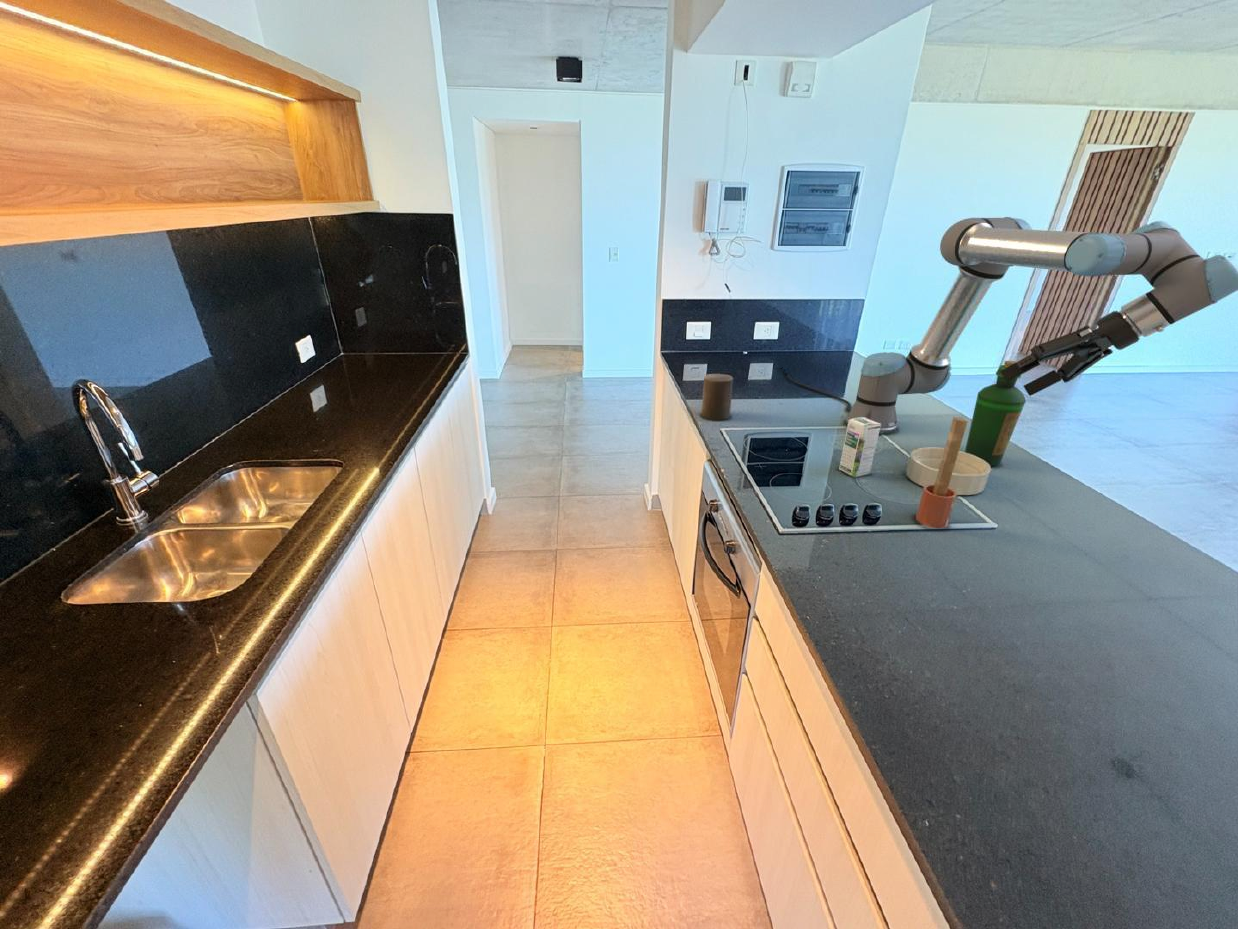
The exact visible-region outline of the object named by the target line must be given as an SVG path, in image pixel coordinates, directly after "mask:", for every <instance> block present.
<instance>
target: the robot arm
mask: <svg viewBox="0 0 1238 929" xmlns="http://www.w3.org/2000/svg"><path fill="white" fill-rule="evenodd" d="M939 252H940V255H941V257H942V259H943V260H944V261H946V262H947V263H948V264H950V265H952V266H957V268H958V270H959V273H958V275H957V276H956V278H955V279H954V282H953V283H952V286H951V287H950V289H949V291H948V293H947V295H946V296H945V298H944V300H943V301H942V303H941V305H940V307H939V309H938V310H937V312H936V314H935V316H934V318H933V319H932V322H931V323H930V325H929V327H928V328H927V330H926V332H925V334H924V336H923V337H922V339H921V341H920V343H919V344H915V345H913V346H912V347H911V348H910V350H909V353H908V354H907V356H905V355H904V354H902V353H899V352H894V351H893V352H891V351H890V352H885V351H884V352H876V353H872V354H869V355H868V356H866V358H865V359H864V360H863V364H862V367H861V369H860V377H859V383H858V388H857V393H856V398H855V402H854V403H853V405H852V407H851V403H850V402H849V401H848V400H846V399H845V398H842V397H839V396H837V395H834V394H832V393H829V392H826V391H823V390H820V389H817V388H814V387H811V386H809V385H805V384H803V383H801V382H799V381H796V380H795V379H794V378H791V377H790V376H789V375H788V376H789V377H788V376H786V378H787V379H788V380H789V381H791V382H792V383H794V384H796V385H798V386H800V387H803V388H806V389H809V390H811V391H814V392H817V393H819V394H822V395H825V396H828V397H832V398H833V399H836V400H839V401H841V402H843V403H845V404H847V407H846V411H847V412H849V413H848V414H847V416H846V418H845V425H846V426H847V427H848V422H849V420H850V419H853V418H859V417H865V418H867V419H869V420H872V421H874V422H877V423H880V424H881V427H880V431H879V435H888V434H893V433H895V432H896V431H897V428H898V418H897V410H896V406H897V405H896V404H897V401H898V396H900V395H917V394H922V395H923V394H930V393H934V392H938V391H940V390H941V389H943V388H944V387H945V386H946V385H947V384H948V382H949V381H950V379H951V376H952V372H951V370H952V364H951V361H952V359H951V357H950V353H951V352H952V350H953V349H954V348H955V345H956V344H957V342H958V340H959V339H960V337H961V335H962V333H963V332H964V330H965V328H966V327H967V326H968V324H969V322H970V320H971V319H972V317H973V316H974V314H975V312H976V311H977V309H978V307H979V306H980V304H981V302H982V301H983V299H984V298H985V296H986V295H987V293H988V291H989V289H990V287H991V286H992V285H993V283H994V282H997V281H1000V280H1002V279H1003V278H1004V276H1005V275H1006V274H1007V272H1008V270H1009V268H1010V267H1023V268H1031V269H1039V270H1040V269H1042V270H1049V271H1059V272H1067V273H1071V274H1074V275H1076V276H1082V277H1101V276H1133V275H1134V276H1135V275H1137V276H1138V275H1140V276H1142V277H1143V278H1144V279H1145V280H1146V282H1148V284H1149V285H1150V286H1151V287H1152V288H1153V289H1151V290H1150V291H1147V292H1146V293H1144V294H1143V295H1140V296H1138V297H1137V298H1134V299H1132V300H1131V301H1129V302H1127V303H1125V304H1123V305H1122V306H1120V310H1119V311H1118V310H1113V311H1111V312H1110V313H1108V314H1106V315H1103V316H1102V317H1100V318H1098V319H1097V320H1096V321H1095V324H1096V325H1097V327H1096V328H1095V329H1092V328H1091V326H1090V325H1085V326H1083V327H1081V328H1078V329H1077V330H1075V331H1072V332H1069V333H1067V334H1064V335H1061V336H1058V337H1056V338H1053V339H1051V340H1048V341H1045V342H1042V343H1040V344H1037V345H1034V346H1033V347H1031V348H1030V349H1029V351H1030V352H1031V353H1030V354H1029V355H1027V356H1025V357H1024V358H1022V359H1020V360H1018V361H1016V363H1014V364H1013V365H1011V366H1009V367H1007V368H1005V369H1003V370H1002V371H1000V372H1001V374H1002V375H1003V377H1004V379H1005V380H1006V381H1007V382H1008V381H1010V380H1012V379H1014V378H1016V377H1018V376H1020V375H1021V376H1022V375H1023V374H1025V373H1027V372H1029V371H1031V370H1033V369H1035V368H1037V367H1038V366H1040V365H1041V363H1042V362H1045V361H1049V360H1053V359H1057V358H1061V357H1064V356H1068V355H1072V356H1071V357H1069V359H1068V360H1067V361H1066V362H1064V364H1062V366H1061V367H1059V368H1058V369H1057V370H1055V369H1053V370H1051V371H1049V372H1047V373H1045V374H1043V375H1041V376H1039V377H1038V378H1035V379H1034V380H1031V381H1030V382H1028V383H1026V384H1024V385H1023V386H1022V387H1023V388H1024V390H1025V392H1026V393H1027V395H1028V396H1030V397H1031V396H1033V395H1035V394H1038V393H1039V392H1041V391H1043V390H1045V389H1047V388H1049V387H1051V386H1053V385H1055V384H1057V383H1059V382H1061V381H1063V383H1066V384H1067V383H1068V382H1070V381H1072V380H1074V379H1075V378H1077V377H1078V376H1079V375H1081V374H1082V373H1083V372H1085V371H1086V370H1087V371H1088V369H1089V368H1091V367H1092V366H1094V365H1095V364H1097V363H1098V362H1099V361H1101V360H1102V359H1104V358H1106V357H1107V356H1110V355H1112V354H1113V353H1114V351H1113V349H1112V348H1111V347H1112V346H1113V347H1114V348H1115V349H1116V350H1117V351H1121V350H1124V349H1126V348H1128V347H1129V346H1132V345H1134V344H1136V343H1138V342H1139V340H1140V338H1141V337H1142V336H1143V338H1147V337H1149V336H1151V335H1153V334H1155V333H1162V332H1164V330H1165V328H1166V327H1169V326H1171V325H1173V324H1175V323H1176V322H1178V321H1181V320H1184V318H1187V317H1189V316H1190V315H1193V314H1195V313H1197V312H1199V311H1201V310H1203V309H1205V308H1208V307H1210V306H1212V305H1214V304H1217V303H1218V302H1219V301H1221V300H1223V299H1225V298H1226V297H1228V296H1230V295H1232V294H1234V293H1236V292H1238V268H1237V266H1235V265H1234V264H1233V263H1232V261H1230V260H1229V259H1228V258H1226V256H1224V255H1222V254H1216V255H1213V256H1210V257H1208V258H1207V259H1205V258H1204V257H1202V256H1201V255H1199V253H1198V252H1197V251H1196V250H1195V249H1194V248H1193V247H1192V246H1191V245H1190V244H1189V242H1187V241H1186V239H1185V238H1184V237H1183V236H1182V235H1181V233H1180V232H1179V231H1178V230H1177V229H1176V228H1174V227H1172V225H1170V224H1169V223H1168V222H1166V221H1162V220H1157V221H1151V222H1150V223H1149V224H1148V223H1146V224H1143V225H1142V226H1140V227H1138V228H1136V229H1135V230H1133V231H1132V232H1131V233H1117V232H1116V233H1112V232H1111V233H1110V232H1088V231H1087V232H1086V231H1065V230H1045V229H1044V230H1043V229H1033V228H1032V226H1031V225H1030V223H1028V222H1027V221H1026V220H1025V219H1022V218H1015V217H1011V216H1004V217H969V218H964V219H961V220H959V221H956V222H955V223H953V224H952V225H951V226H949V227H948V229H946V231H945V232H944V233H943V235H942V237H941V240H940V243H939ZM850 408H851V409H850Z"/></svg>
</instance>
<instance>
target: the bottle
mask: <svg viewBox="0 0 1238 929" xmlns="http://www.w3.org/2000/svg"><path fill="white" fill-rule="evenodd" d="M1016 362H1017V361H1016V360H1004V364H1001V365H999V367H998V368H997V371H996V372H995V376H997V377H996V382H995V383H993V384H990V385H987V386H984V387H983V388H982V389H981V390H980V391H978V392H977V396H976V400H975V405H974V409H973V415H972V418H971V422H970V427H969V432H968V436H967V440H966V445H965V449H964V452H966V453H969V454H972V455H974V456H977V457H979V458H981V459H983V460H984V461H986V462H987V463H988V464H989V465H990V467H996V466H998V465H1000V464H1001V463H1002V460H1003V457H1004V455H1005V452H1006V450H1007V448H1008V445H1009V443H1010V441H1011V438H1012V436H1013V433H1014V431H1015V428H1016V426H1017V423H1018V421H1019V419H1020V416H1021V413H1022V411H1023V408H1024V406H1025V404H1026V401H1027V400H1026V398H1025V395H1024V393H1023V392H1022V391H1021V389H1019V388H1018V387H1016V384H1017V382H1018V379H1020V378H1022V374H1021V375H1020V376H1018V377H1016V378H1014V379H1012V380H1010V381H1008V382H1007V381H1006V380H1005V379H1004V377H1003V375H1002V374H1001V372H1000V371H1002V370H1003V369H1005V368H1007V367H1009V366H1011V365H1013V364H1014V363H1016Z"/></svg>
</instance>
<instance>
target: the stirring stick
mask: <svg viewBox="0 0 1238 929" xmlns="http://www.w3.org/2000/svg"><path fill="white" fill-rule="evenodd" d="M967 424H968V419H966V418H965V417H958V416H953V418H952V420H951V424H950V427H949V428H950V429H949V432H948V435H947V439H946V443H945V445H944V448H945V449H944V453H943V457H942V460H941V464H940V467H939V471H938V474H937V478H936V482H935V485H934V489H933V492H932V494H934V495H938V496H944V497H945V496H946V493H947V490H948V486H949V483H950V479H951V476H952V472H953V469H954V466H955V462H956V459H957V455H958V452H959V451H960V448H961V444H962V441H963V437H964V434H965V431H966V427H967Z"/></svg>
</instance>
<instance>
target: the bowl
mask: <svg viewBox="0 0 1238 929" xmlns="http://www.w3.org/2000/svg"><path fill="white" fill-rule="evenodd" d="M944 449H945V447H939V446H938V447H935V446H925V447H919V448H916V449H913V450H912V451H911V452H910V453H909V457H908V461H907V466H906V470H905V475H906V476H907V477H908V479H909V480H910V481H911V482H913V483H915V484H917V485H919V486H921V487H923V488H924V486H926V485H931V484H934V485H935V482H936V478H937V474H938V471H939V467H940V464H941V460H942V457H943V453H944ZM991 471H992V466H990V465H989V464H988V463H987V462H986V461H984V460H983V459H981V458H979V457H977V456H974V455H972V454H969V453H966V452H965V451H961V450H959V452H958V455H957V459H956V462H955V466H954V469H953V472H952V476H951V479H950V483H949V486H948V488H950V489H952V490H954V491H955V492H956V495H957V496H971V495H977V494H980V493H982V492H984V490H985V489H986V486H987V483H988V481H989V478H990V474H991Z"/></svg>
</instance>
